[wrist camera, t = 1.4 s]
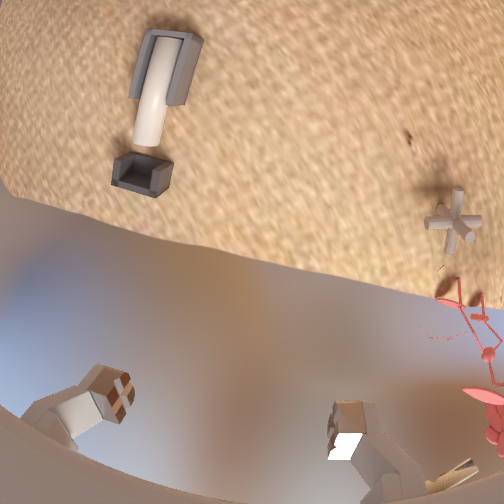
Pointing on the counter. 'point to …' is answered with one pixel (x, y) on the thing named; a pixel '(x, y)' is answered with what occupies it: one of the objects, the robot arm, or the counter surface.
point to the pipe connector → (454, 221)
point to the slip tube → (156, 92)
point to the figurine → (500, 415)
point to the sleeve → (182, 69)
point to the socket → (142, 174)
